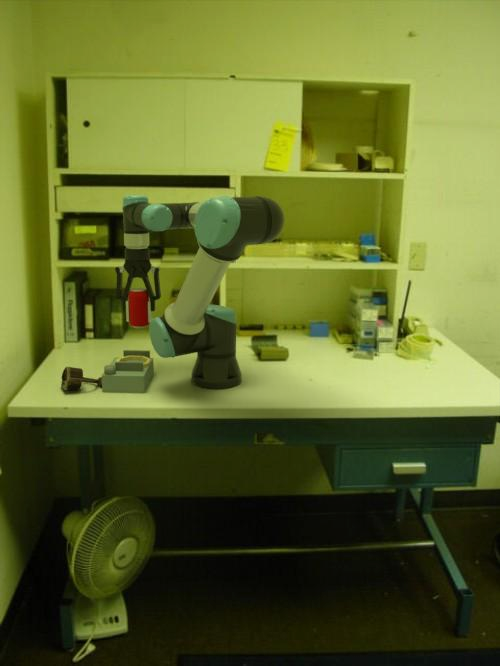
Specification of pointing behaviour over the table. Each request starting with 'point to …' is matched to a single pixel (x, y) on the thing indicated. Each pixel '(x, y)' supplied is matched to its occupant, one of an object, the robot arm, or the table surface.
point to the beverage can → (138, 307)
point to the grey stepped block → (128, 372)
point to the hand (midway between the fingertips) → (139, 320)
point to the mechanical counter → (76, 379)
